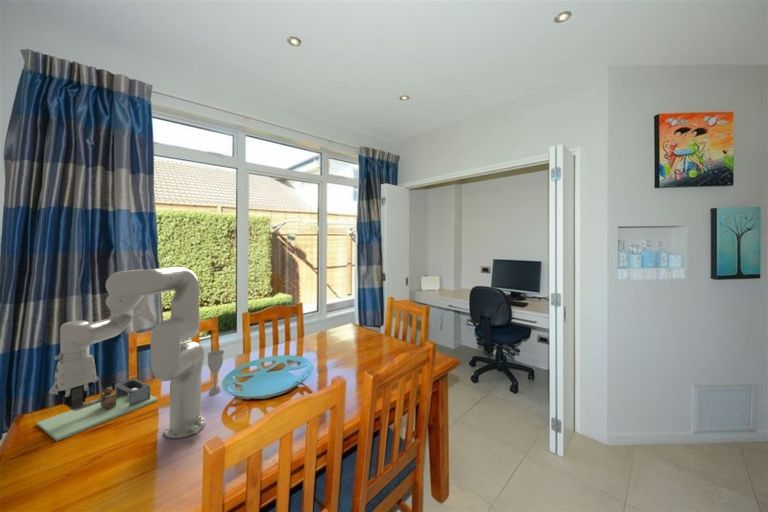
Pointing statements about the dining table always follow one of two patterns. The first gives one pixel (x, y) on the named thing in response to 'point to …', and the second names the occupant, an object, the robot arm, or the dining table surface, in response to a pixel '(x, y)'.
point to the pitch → (87, 417)
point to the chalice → (215, 367)
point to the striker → (106, 400)
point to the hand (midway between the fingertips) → (75, 402)
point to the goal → (135, 395)
